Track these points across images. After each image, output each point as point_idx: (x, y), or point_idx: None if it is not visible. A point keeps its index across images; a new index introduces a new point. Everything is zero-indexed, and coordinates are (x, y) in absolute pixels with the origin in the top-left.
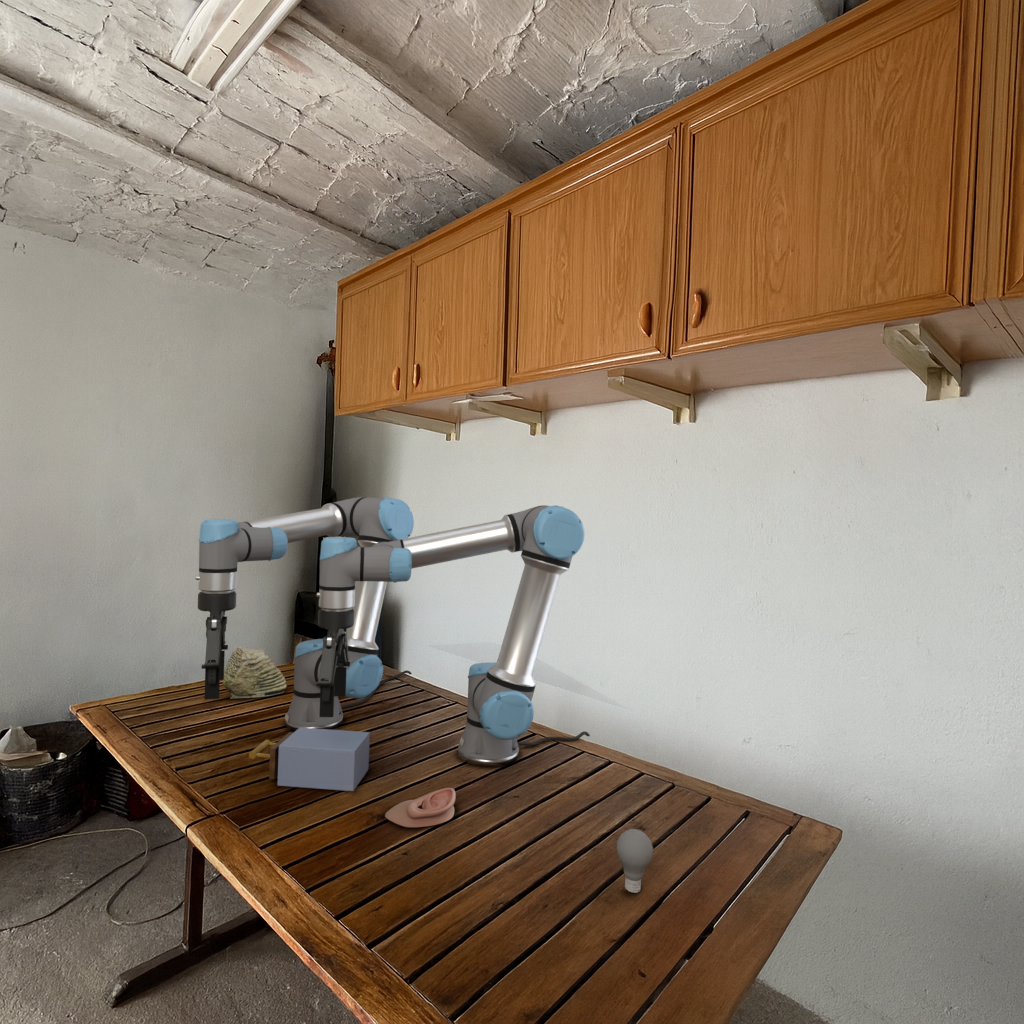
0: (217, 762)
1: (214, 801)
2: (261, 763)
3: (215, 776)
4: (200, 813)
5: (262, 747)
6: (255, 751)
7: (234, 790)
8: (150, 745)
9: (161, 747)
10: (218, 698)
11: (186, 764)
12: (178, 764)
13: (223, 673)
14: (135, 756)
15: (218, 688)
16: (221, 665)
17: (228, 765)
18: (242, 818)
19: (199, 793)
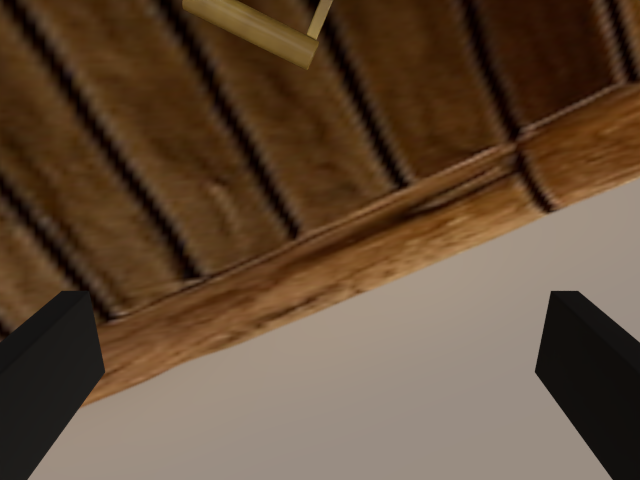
0: (158, 173)
1: (435, 161)
2: (187, 27)
3: (264, 171)
4: (494, 190)
5: (258, 13)
6: (307, 42)
7: (380, 109)
8: None
9: None
10: (578, 294)
11: (161, 257)
12: (157, 277)
13: (59, 320)
14: None
15: (628, 337)
16: (16, 383)
17: (187, 138)
18: (573, 77)
19: (370, 204)
